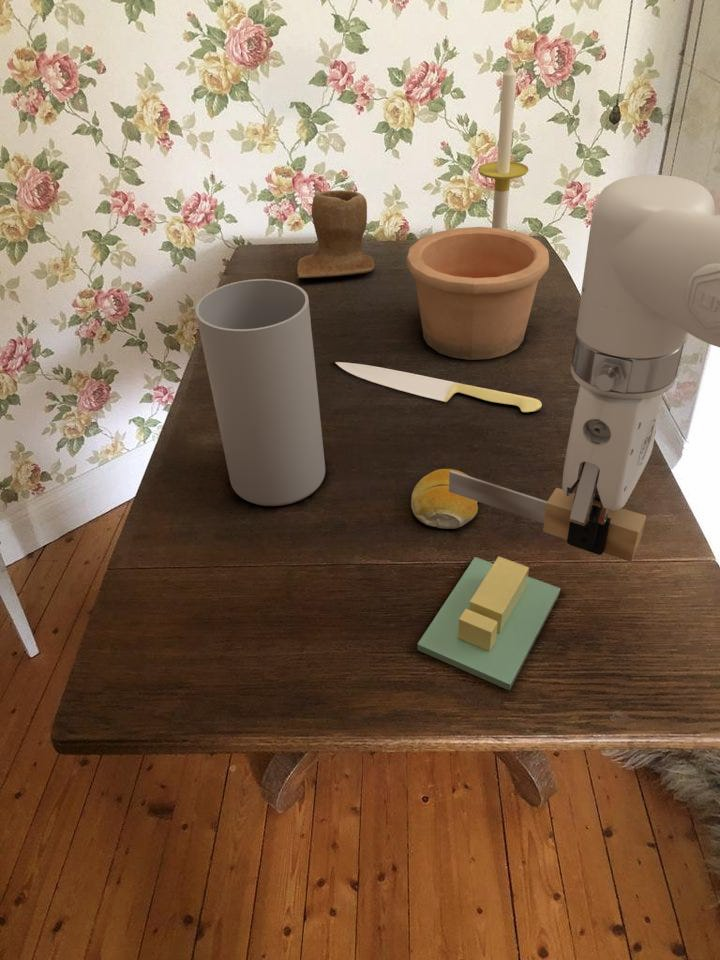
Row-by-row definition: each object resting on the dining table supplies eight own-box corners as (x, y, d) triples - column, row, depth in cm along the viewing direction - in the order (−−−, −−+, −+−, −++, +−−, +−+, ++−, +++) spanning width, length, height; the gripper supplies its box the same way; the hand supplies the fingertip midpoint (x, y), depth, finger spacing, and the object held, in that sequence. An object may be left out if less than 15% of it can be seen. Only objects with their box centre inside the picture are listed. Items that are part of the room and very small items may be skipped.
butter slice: (496, 640, 76) (498, 621, 74) (489, 651, 75) (491, 632, 73) (464, 627, 77) (465, 608, 75) (457, 638, 76) (458, 619, 74)
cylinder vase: (305, 517, 93) (281, 337, 77) (214, 499, 96) (174, 323, 80) (339, 457, 102) (324, 284, 86) (255, 442, 105) (226, 274, 89)
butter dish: (559, 594, 81) (564, 568, 79) (509, 690, 72) (512, 665, 70) (474, 562, 86) (476, 537, 83) (417, 650, 77) (417, 624, 74)
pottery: (401, 367, 119) (399, 282, 110) (415, 303, 136) (415, 225, 127) (541, 372, 116) (551, 285, 107) (537, 306, 132) (546, 226, 123)
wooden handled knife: (639, 545, 66) (646, 515, 64) (631, 562, 65) (638, 532, 63) (454, 484, 74) (455, 455, 72) (443, 497, 73) (444, 469, 70)
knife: (326, 377, 119) (340, 359, 122) (533, 425, 106) (544, 404, 109) (324, 371, 119) (339, 353, 121) (533, 418, 105) (544, 397, 108)
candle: (471, 268, 146) (481, 49, 122) (523, 270, 144) (544, 48, 120) (466, 291, 139) (476, 63, 115) (521, 293, 137) (543, 62, 113)
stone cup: (370, 255, 153) (367, 180, 144) (377, 280, 144) (374, 201, 135) (296, 261, 153) (288, 186, 143) (298, 287, 143) (290, 208, 134)
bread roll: (481, 486, 96) (482, 461, 93) (474, 534, 89) (476, 508, 87) (416, 480, 97) (416, 455, 95) (406, 526, 91) (405, 501, 88)
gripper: (645, 425, 49) (603, 613, 60) (704, 320, 59) (658, 498, 71) (535, 396, 52) (515, 580, 64) (609, 302, 62) (580, 474, 74)
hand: (591, 535), depth 67 cm, fingers closed on wooden handled knife, 2 cm apart
